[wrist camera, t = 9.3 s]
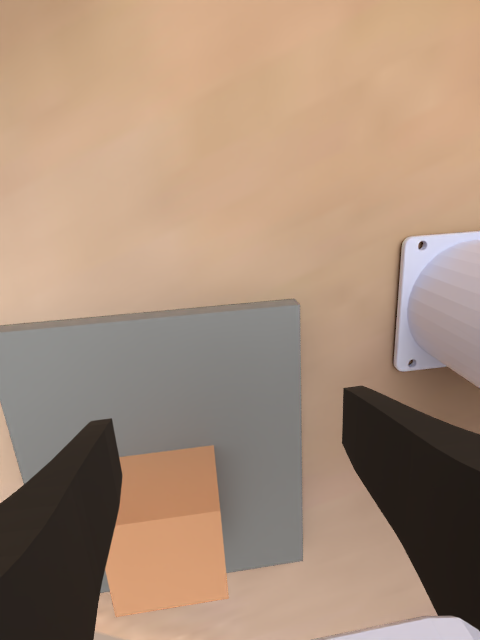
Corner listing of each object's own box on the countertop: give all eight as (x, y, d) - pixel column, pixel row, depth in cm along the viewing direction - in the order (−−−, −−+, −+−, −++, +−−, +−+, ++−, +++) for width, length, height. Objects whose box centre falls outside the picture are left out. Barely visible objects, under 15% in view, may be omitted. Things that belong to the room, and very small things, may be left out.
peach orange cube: (213, 445, 23) (220, 510, 18) (220, 521, 25) (228, 598, 20) (115, 457, 23) (96, 528, 18) (129, 534, 24) (115, 617, 20)
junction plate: (294, 298, 22) (320, 326, 18) (298, 545, 28) (319, 613, 23) (-8, 326, 21) (-62, 363, 16) (62, 582, 26) (37, 661, 22)
